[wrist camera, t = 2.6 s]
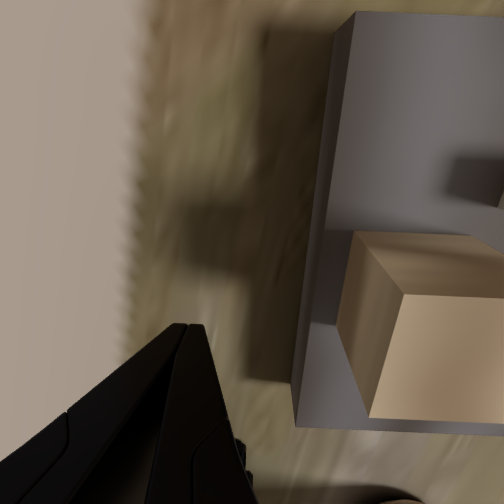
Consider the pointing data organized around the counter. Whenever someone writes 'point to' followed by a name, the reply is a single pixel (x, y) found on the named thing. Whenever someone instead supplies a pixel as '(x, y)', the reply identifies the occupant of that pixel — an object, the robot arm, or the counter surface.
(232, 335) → the counter surface
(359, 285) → the maple block
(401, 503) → the carving
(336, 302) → the channel deck
